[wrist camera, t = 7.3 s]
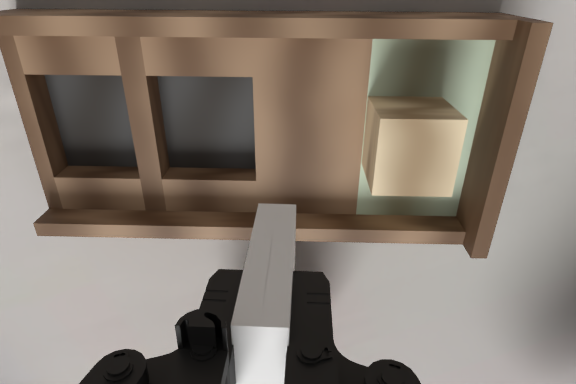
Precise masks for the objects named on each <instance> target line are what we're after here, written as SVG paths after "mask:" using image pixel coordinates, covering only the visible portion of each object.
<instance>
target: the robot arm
mask: <svg viewBox="0 0 576 384" xmlns="http://www.w3.org/2000/svg"><path fill="white" fill-rule="evenodd" d="M295 241H296V205H295V204H263V203H259V204H258V208H257V212H256V217H255V221H254V226H253V230H252V234H251V239H250V243H249V247H248V252H247V256H246V260H245V265H244V269H243V270H226V269H219V270H218V271H217V272H216V273H215V274H214V275H213V276H212V277H211V278H210V279H209V282H208V284H207V287H206V292H205V293H204V296H203V301H202V302H201V305H200V308H199V309H197V310H194V311H191V312H189V313H187V314H185V315H184V316H183V317H181V318H180V319H179V320H178V322H177V323H176V325H175V330H176V336H177V343H178V349H177V350H175V351H174V352H172V353H169V354H166V355H163V356H159V357H154V358H150V359H145V358H144V356H143V355H142V353H140V352H138V351H136V350H131V349H123V350H118V351H114V352H112V353H110V354H108V355H106V356H104V357H103V358H102V359H101V360H100V361H99V362H98V363H96V365H95V366H94V367H93V368H92V369H91V370H90V372H89V373H88V374H87V375H86V376H85V377H84V379H83V380H82V381H81V382H80V383H79V384H421V383H420V381H419V379H418V378H417V376H416V375H415V374H414V372H413V371H412V370H411V369H410V368H409V367H407V366H406V365H404V364H403V363H401V362H398V361H394V360H383V359H382V360H379V361H376V362H373V363H372V364H371V365H370V366H369V367H366V366H363V365H360V364H357V363H355V362H352V361H350V360H348V359H347V358H345V357H344V356H342V354H341V353H340V352H339V351H338V350H337V348H336V346H335V345H334V340H333V328H332V314H331V299H330V284H329V281H328V279H327V278H326V277H325V275H324V274H323V272H307V271H295Z"/></svg>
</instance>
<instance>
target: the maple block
mask: <svg viewBox="0 0 576 384" xmlns="http://www.w3.org/2000/svg"><path fill="white" fill-rule="evenodd" d="M467 125H468V119H467V118H466V117H465V116H463V115H462V114H461V113H460V112H459V111H458V110H457V109H455V108H454V107H453V106H452V105H451V104H450V103H448V102H447V101H446V100H445V99H444V98H443V97H407V96H368V101H367V112H366V122H365V133H364V143H363V154H362V166H363V170H364V173H365V176H366V179H367V182H368V185H369V188H370V192H371V195H372V196H424V197H452V194H453V189H454V185H455V180H456V176H457V171H458V166H459V162H460V157H461V152H462V148H463V143H464V138H465V134H466V129H467Z"/></svg>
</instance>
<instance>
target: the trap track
mask: <svg viewBox="0 0 576 384" xmlns="http://www.w3.org/2000/svg"><path fill="white" fill-rule="evenodd" d="M552 26H553V23H551V22H546V21H541V20H536V19H531V18H525V17H520V16H515V15H510V14H505V13H484V12H355V11H227V10H99V9H11V10H2V11H0V49H1V52H2V55H3V59H4V62H5V65H6V69H7V72H8V75H9V78H10V82H11V85H12V88H13V92H14V95H15V98H16V101H17V105H18V108H19V111H20V114H21V118H22V121H23V124H24V128H25V131H26V134H27V137H28V141H29V144H30V147H31V151H32V154H33V157H34V160H35V164H36V167H37V170H38V173H39V177H40V180H41V183H42V187H43V190H44V193H45V196H46V200H47V203H48V206H49V209H48V210H47V211H46V212H45V213H44V214H43V215H42V216H41V217H40V218H39V219H37V220H36V221H35V222H34V223H33V224H34V227H35V230H36V233H37V236H74V237H123V238H171V239H220V240H250V239H251V234H252V230H253V226H254V221H255V217H256V212H257V208H258V204H259V203H263V204H295V205H296V241H317V242H366V243H415V244H463V246H464V247H465V249H466V251H467V252H468V254H469V256H470V257H471V258H487V255H488V252H489V248H490V245H491V241H492V238H493V234H494V231H495V227H496V224H497V220H498V217H499V213H500V210H501V206H502V202H503V199H504V195H505V192H506V188H507V185H508V181H509V178H510V174H511V171H512V167H513V164H514V160H515V156H516V153H517V149H518V146H519V142H520V139H521V135H522V132H523V128H524V125H525V121H526V118H527V114H528V111H529V107H530V103H531V100H532V96H533V93H534V89H535V86H536V82H537V79H538V75H539V72H540V68H541V65H542V61H543V57H544V54H545V50H546V47H547V43H548V40H549V36H550V33H551V29H552ZM368 96H407V97H443V98H444V99H445V100H446V101H447V102H448V103H450V104H451V105H452V106H453V107H454V108H455V109H457V110H458V111H459V112H460V113H461V114H462V115H463V116H465V117H466V118H467V119H468V125H467V129H466V134H465V138H464V143H463V148H462V152H461V157H460V162H459V166H458V171H457V176H456V180H455V185H454V189H453V194H452V197H424V196H372V195H371V192H370V188H369V185H368V182H367V179H366V176H365V173H364V170H363V166H362V154H363V143H364V133H365V122H366V112H367V101H368Z"/></svg>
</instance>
